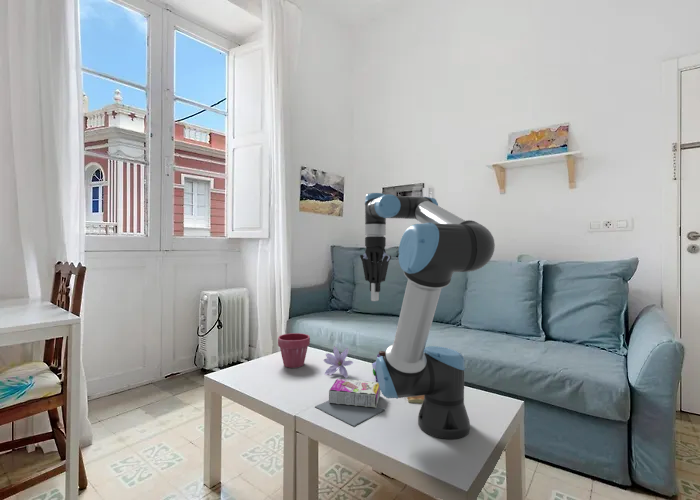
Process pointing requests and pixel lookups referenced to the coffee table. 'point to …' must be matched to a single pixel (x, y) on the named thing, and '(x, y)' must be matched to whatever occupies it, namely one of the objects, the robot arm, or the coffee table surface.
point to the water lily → (337, 362)
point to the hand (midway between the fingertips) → (374, 300)
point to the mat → (349, 412)
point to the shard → (416, 399)
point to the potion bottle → (381, 353)
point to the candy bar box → (355, 393)
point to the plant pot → (293, 349)
